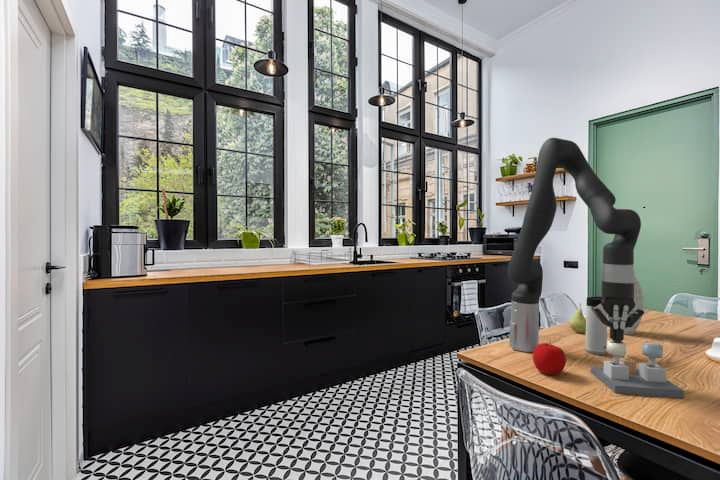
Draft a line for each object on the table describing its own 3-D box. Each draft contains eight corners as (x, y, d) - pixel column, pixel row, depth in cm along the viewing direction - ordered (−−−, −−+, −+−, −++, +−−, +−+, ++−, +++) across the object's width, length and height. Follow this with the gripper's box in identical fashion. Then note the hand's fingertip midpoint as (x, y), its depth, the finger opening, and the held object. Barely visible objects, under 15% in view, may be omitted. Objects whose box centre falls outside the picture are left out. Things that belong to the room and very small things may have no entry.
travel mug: (611, 356, 124) (612, 298, 124) (589, 354, 125) (590, 297, 125) (602, 350, 130) (603, 295, 130) (582, 349, 132) (583, 294, 131)
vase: (606, 327, 163) (607, 265, 162) (642, 331, 156) (643, 266, 155) (605, 333, 153) (606, 267, 152) (643, 338, 145) (645, 269, 145)
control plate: (614, 393, 95) (615, 372, 95) (590, 372, 109) (591, 354, 109) (684, 398, 92) (684, 376, 92) (650, 376, 106) (650, 358, 106)
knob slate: (648, 369, 98) (648, 345, 98) (638, 363, 102) (639, 340, 102) (666, 370, 97) (666, 346, 97) (656, 364, 102) (656, 341, 101)
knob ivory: (611, 366, 100) (611, 343, 100) (603, 361, 104) (604, 339, 104) (629, 368, 99) (629, 344, 99) (620, 362, 103) (620, 340, 103)
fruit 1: (573, 376, 106) (573, 343, 106) (548, 380, 104) (549, 345, 103) (548, 365, 115) (549, 334, 115) (525, 368, 112) (525, 336, 112)
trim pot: (623, 373, 104) (624, 356, 104) (618, 369, 107) (618, 353, 107) (635, 373, 103) (635, 357, 103) (629, 369, 106) (629, 354, 106)
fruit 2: (568, 332, 153) (569, 304, 153) (570, 329, 160) (570, 302, 159) (587, 335, 150) (587, 306, 149) (588, 331, 156) (588, 303, 155)
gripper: (598, 281, 98) (597, 344, 99) (652, 282, 96) (651, 347, 96) (585, 278, 106) (585, 336, 106) (636, 279, 104) (635, 339, 104)
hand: (616, 341), depth 101 cm, fingers closed
